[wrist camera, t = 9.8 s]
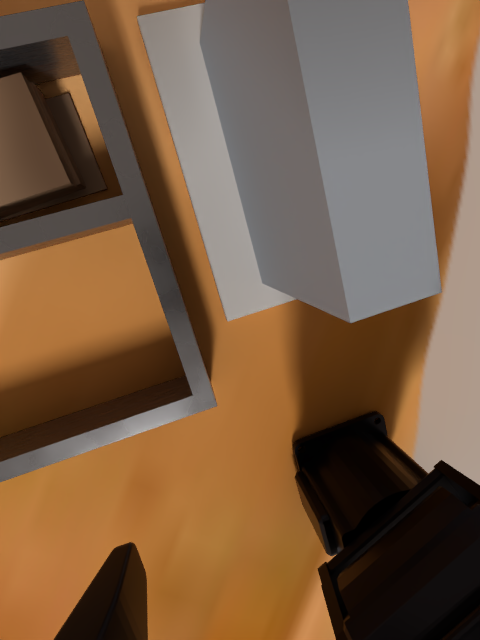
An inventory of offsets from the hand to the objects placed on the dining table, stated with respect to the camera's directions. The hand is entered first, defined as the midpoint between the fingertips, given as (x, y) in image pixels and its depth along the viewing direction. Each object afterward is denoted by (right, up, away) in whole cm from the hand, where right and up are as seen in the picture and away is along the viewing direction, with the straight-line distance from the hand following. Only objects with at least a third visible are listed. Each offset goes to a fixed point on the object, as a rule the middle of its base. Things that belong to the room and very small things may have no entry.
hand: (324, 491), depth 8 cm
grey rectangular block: (-1, +12, +10) cm, 16 cm away
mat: (-1, +12, +10) cm, 16 cm away
